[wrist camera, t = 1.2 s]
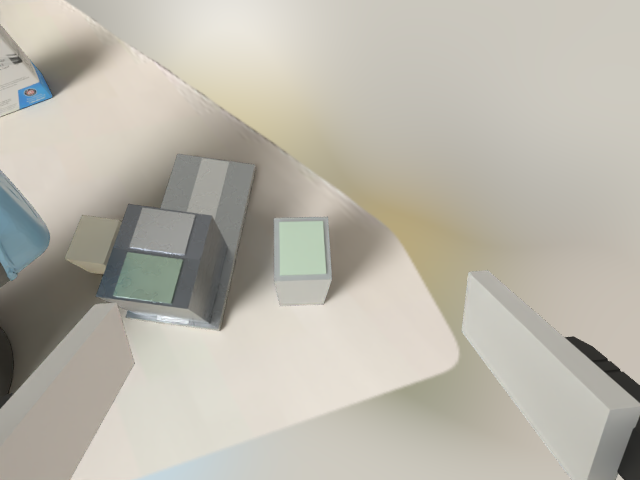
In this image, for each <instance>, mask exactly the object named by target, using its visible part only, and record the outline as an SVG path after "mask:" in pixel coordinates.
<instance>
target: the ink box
mask: <svg viewBox="0 0 640 480" xmlns="http://www.w3.org/2000/svg"><path fill="white" fill-rule="evenodd" d="M52 97H53V96H52V94H51V91H50V89H49V87H48V85H47V83H46V81H45V79H44V77H43V75H42V73H41V72H40V71H39V70H38V69H37V67H36V66H35V65H34V64H33V63H32V62H31V60H30V59H29V58H28V57H27V55H26V54H25V53H24V52H23V51H22V49H21V48H20V47H19V46H18V45H17V43H16V42H15V41H14V40H13V39H12V38H11V36H10V35H9V34H8V33H7V32H6V31H5V29H4V28H3V27H2V26H1V25H0V117H1V116H4V115H6V114H9V113H12V112H14V111H17V110H20V109H22V108H25V107H28V106H30V105H33V104H36V103H38V102H41V101H44V100H46V99H49V98H52Z"/></svg>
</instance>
